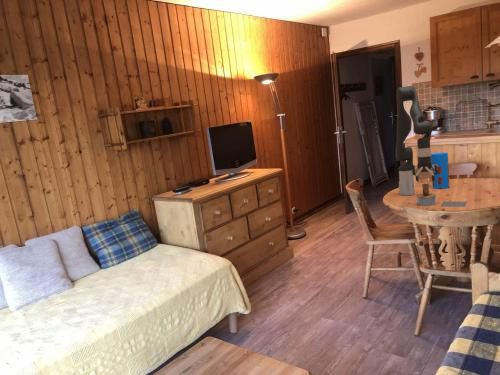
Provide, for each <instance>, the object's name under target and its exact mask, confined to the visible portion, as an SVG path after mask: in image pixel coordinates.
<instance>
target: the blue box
mask: <svg viewBox="0 0 500 375" xmlns="http://www.w3.org/2000/svg"><path fill="white" fill-rule="evenodd" d="M431 164H432V165H435V164H437V166H438V174H437V175H435V180H434V182H432V181H431V183H432V189H434V190H445V189H446V190H447V189H449V188H450V174H449V154H448V152H433V153H431ZM431 169H432V171H433V172H434V173H435V168H433V167H432V168H431Z"/></svg>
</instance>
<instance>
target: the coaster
mask: <svg viewBox="0 0 500 375" xmlns="http://www.w3.org/2000/svg"><path fill="white" fill-rule="evenodd" d="M467 204H468V201H459V200H458V201H453V200H452V201H451V200H450V201H447V200H444V201H442V203H441V204H440V206H439V207H444V208H445V207H449V208H450V207H451V208H454V207H455V208H457V207H458V208H462V207H463V208H465V207H466V206H467Z"/></svg>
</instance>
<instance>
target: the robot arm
mask: <svg viewBox="0 0 500 375" xmlns="http://www.w3.org/2000/svg"><path fill="white" fill-rule="evenodd" d="M418 96H419V95H418V93H417V90H416V88H415V86H413V85H409V86H408V85H407V86H400V87H398V88H397V89H396V104H397V105H396V108H397V109H396V110H397V112H396V144H395V160H396V161H397V162H404V161H405V163H403V164H401V165H400V166H399V167H398V176H399V178H398V179H399V181H398V188H399V190H398V191H399V196H413V195H415V181H416V182H417V183H418V182H420V181H419V180H420V176H419V174H421V173H430V174H431V183H432V182H434V180H435V175H437V174H438V166H437V164H435V165H432V164H431V154H432V151H431V137H432V133H433V123H432V122H431V121H425V120H426V117H425V114H424V113H423V110H422V108H421V105H420V101H419V97H418ZM410 101H411V102H412V104H411V106H410V108H409V113H408V112H407V110H406V108H405V106H404V102H410ZM412 125H413V126H412ZM412 128H413V129H412ZM412 130H413V133H414V134H415V135H417V136H418V135H423V137H421V138H417V143H416V144H417V152H416V154H417V157H416V158H417V165H416V164H414V151H413V148H412V147H411V146H406V147H403V145H404V142H405V140H406V139H407V138H408V136H409V135H410V133H411V131H412ZM432 167H433V168H435V173H434V172H433V171H432ZM416 169H418V171H417V172H416ZM414 176H415V177H414ZM414 178H415V181H414Z"/></svg>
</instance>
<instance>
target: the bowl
mask: <svg viewBox="0 0 500 375" xmlns="http://www.w3.org/2000/svg"><path fill="white" fill-rule="evenodd" d="M436 198H437V196H436V197H434V198H427V199H423V198H417V197H416V201H417V205H418V206H422V207H423V206H424V207H425V206H434V205H436V204H437V200H436Z"/></svg>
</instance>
